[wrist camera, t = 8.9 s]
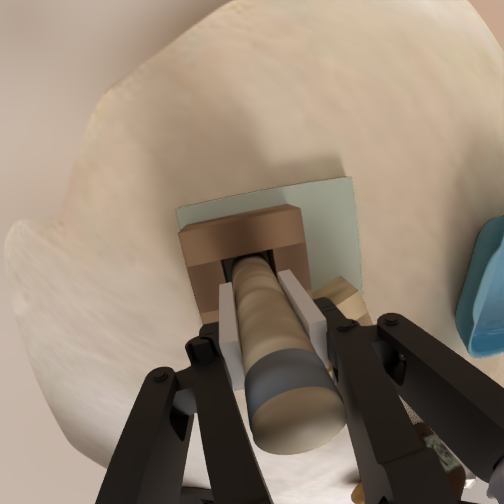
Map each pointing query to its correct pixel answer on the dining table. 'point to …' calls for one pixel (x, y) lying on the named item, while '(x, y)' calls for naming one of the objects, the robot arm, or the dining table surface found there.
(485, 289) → the casserole dish
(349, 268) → the pale green flat mat
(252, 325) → the banded wooden cylinder
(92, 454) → the dining table surface
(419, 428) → the olive oil
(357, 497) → the potato
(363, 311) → the light wooden square frame
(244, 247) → the brown square wooden frame
